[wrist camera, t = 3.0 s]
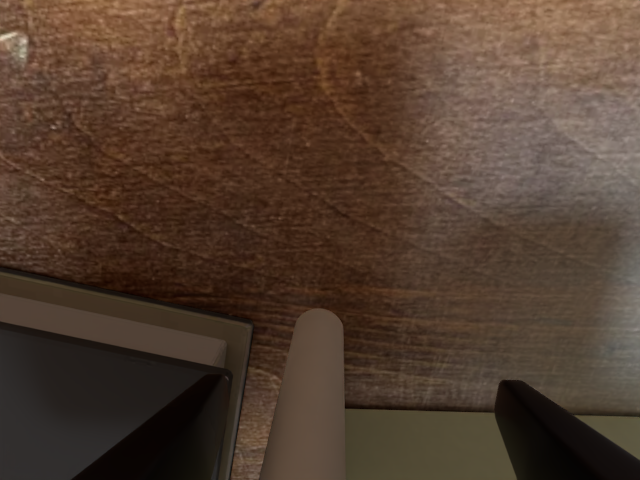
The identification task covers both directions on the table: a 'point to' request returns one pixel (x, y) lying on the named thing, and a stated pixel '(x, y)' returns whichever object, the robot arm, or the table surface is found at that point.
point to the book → (102, 370)
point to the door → (382, 425)
